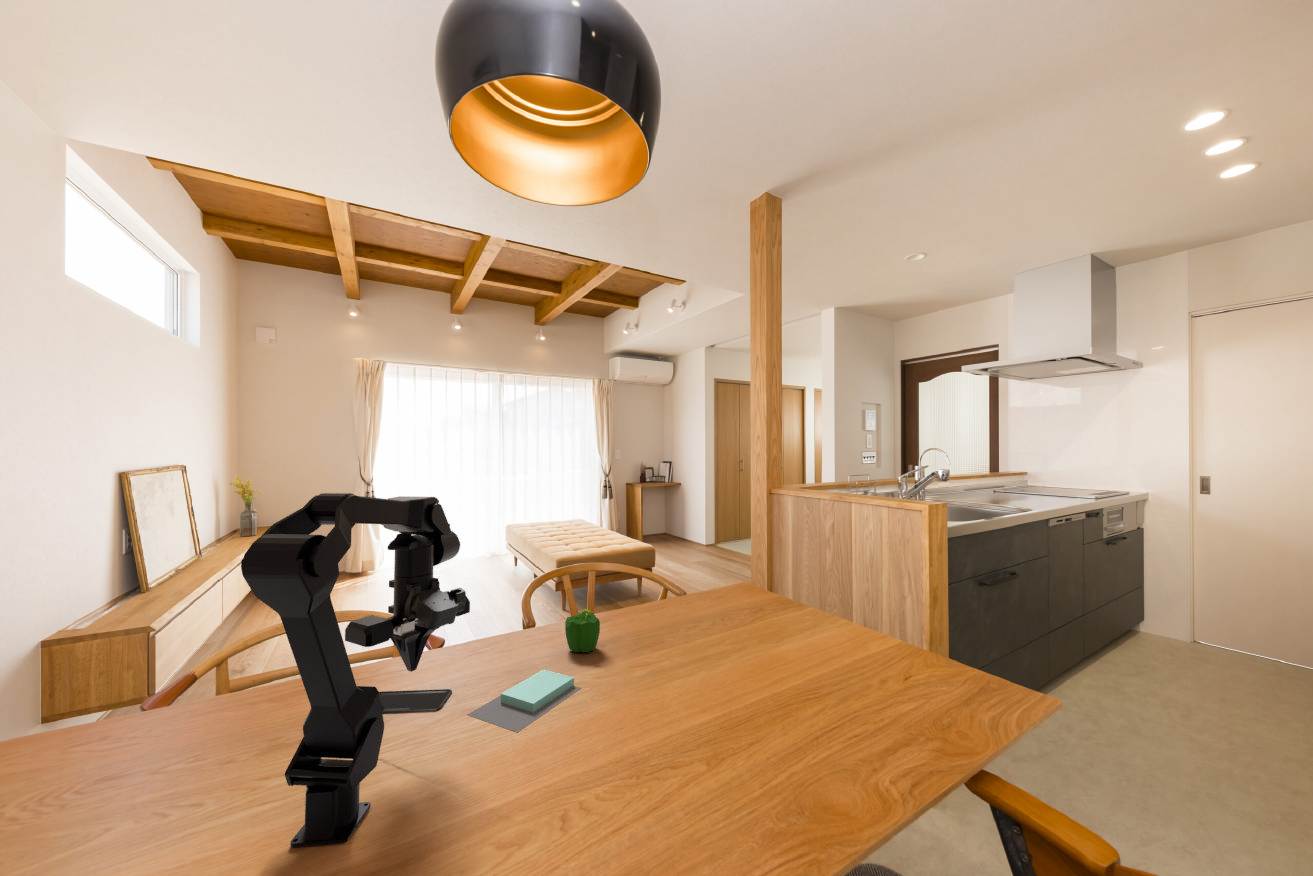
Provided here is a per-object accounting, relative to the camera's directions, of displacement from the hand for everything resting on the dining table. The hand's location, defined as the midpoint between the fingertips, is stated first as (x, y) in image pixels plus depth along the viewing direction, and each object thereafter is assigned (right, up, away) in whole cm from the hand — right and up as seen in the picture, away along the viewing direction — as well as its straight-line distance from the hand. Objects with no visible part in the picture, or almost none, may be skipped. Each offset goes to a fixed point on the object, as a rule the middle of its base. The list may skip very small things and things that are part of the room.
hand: (411, 670), depth 80 cm
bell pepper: (+22, -14, +39) cm, 47 cm away
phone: (-7, -13, +13) cm, 20 cm away
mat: (+15, -13, +14) cm, 24 cm away
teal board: (+14, -11, +11) cm, 21 cm away
